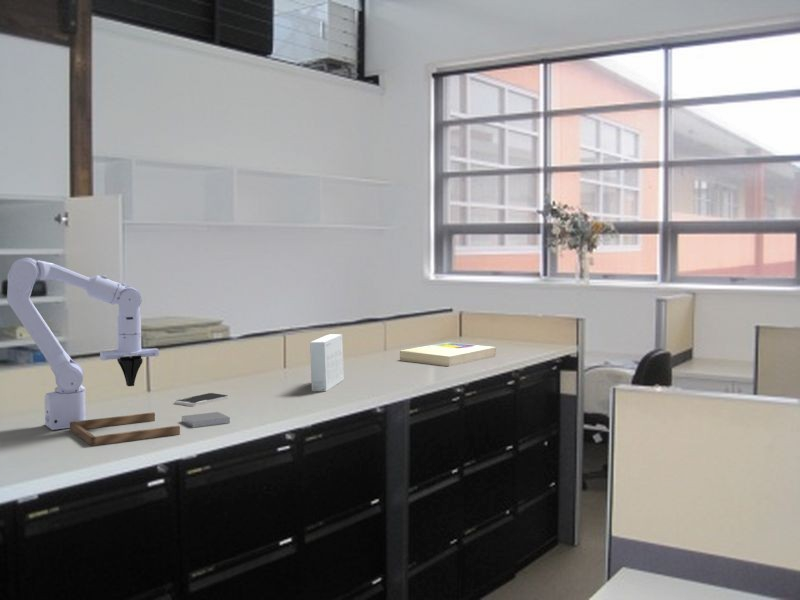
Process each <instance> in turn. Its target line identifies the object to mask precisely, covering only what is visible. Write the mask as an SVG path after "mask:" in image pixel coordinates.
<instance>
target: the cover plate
mask: <svg viewBox="0 0 800 600" xmlns="http://www.w3.org/2000/svg"><path fill="white" fill-rule="evenodd" d="M230 419H231V417H230V416H228V415H225V414H223V413H221V412H219V411H214V412H206V413H196V414H189V415H181V422H182V423H183V424H185V425H187V426H188V427H191V428H193V429H194V428H200V427H201V428H202V427H209V426H217V425H218V426H219V425H225V424H230V423H231V421H230Z"/></svg>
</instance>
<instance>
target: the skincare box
mask: <svg viewBox="0 0 800 600" xmlns="http://www.w3.org/2000/svg"><path fill="white" fill-rule="evenodd" d="M309 343H310V347H309V348H310V352H309V353H310V354H309V355H310V377H311V378H310V381H311V383H310V384H311V391H312V392H327V391H329V390H331V389H333V388H334V387H335V386H337V385H339V384H340V383H341V382H343V381H345V375H344V351H343V350H344V345H343V334H342V333H341V334H340V333H339V334H338V333H336V334H335V333H332V334H331V333H330V334H326V335H324V336H321V337H319V338H317V339H314V340H312V341H310V342H309Z"/></svg>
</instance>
